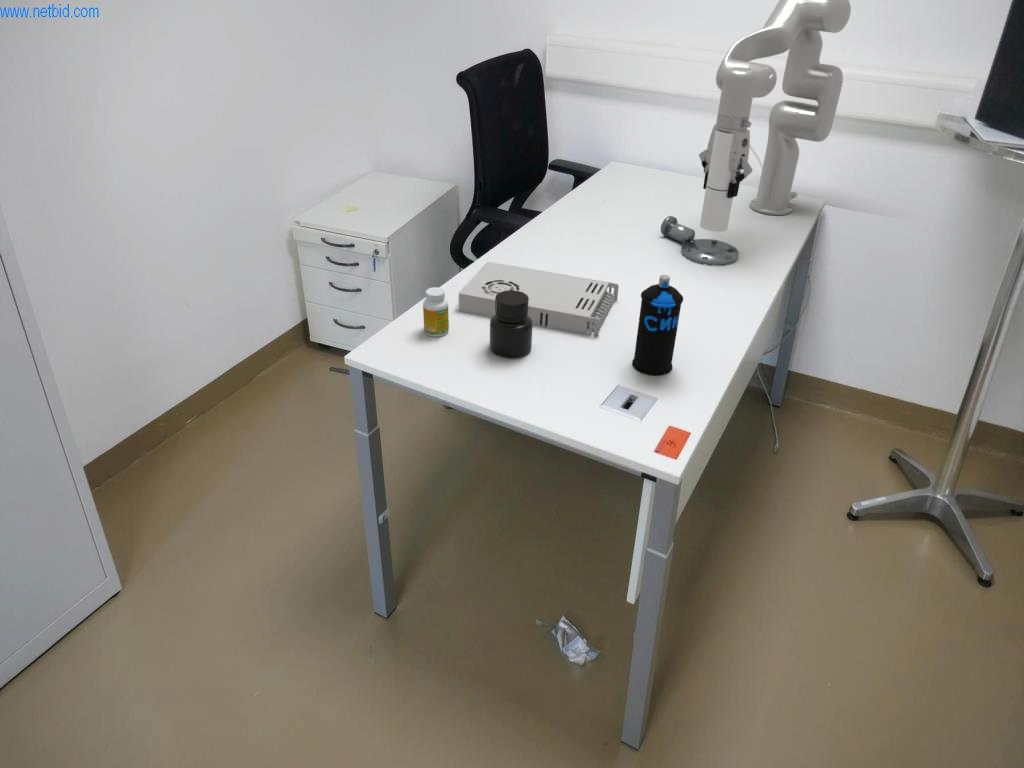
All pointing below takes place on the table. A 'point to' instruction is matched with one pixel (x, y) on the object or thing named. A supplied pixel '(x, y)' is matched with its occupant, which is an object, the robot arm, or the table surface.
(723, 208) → the cylindrical container
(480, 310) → the power supply unit
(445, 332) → the supplement bottle
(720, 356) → the table surface
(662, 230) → the flange fitting
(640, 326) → the aerosol can
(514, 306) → the ink bottle
